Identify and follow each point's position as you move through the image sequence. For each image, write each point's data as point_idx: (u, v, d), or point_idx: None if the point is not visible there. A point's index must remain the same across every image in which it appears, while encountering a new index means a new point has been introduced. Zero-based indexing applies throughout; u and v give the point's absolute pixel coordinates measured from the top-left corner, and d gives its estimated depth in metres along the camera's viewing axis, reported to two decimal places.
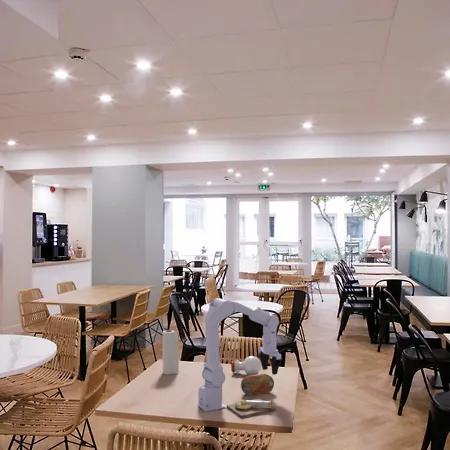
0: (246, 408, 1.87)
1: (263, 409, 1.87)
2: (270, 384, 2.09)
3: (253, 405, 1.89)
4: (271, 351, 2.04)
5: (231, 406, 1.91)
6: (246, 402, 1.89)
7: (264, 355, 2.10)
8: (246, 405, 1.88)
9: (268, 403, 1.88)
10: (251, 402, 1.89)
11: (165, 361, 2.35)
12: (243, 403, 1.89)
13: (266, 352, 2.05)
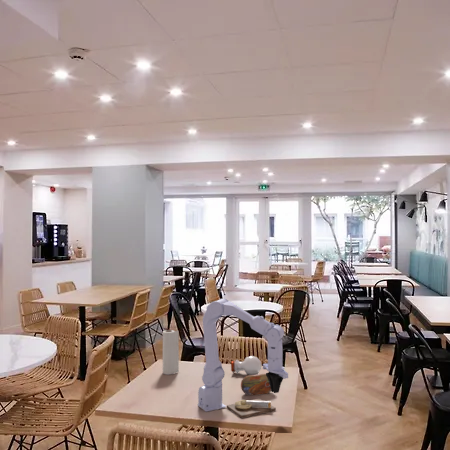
0: (246, 408, 1.87)
1: (263, 409, 1.87)
2: None
3: (253, 405, 1.89)
4: (277, 369, 1.81)
5: (231, 406, 1.91)
6: (246, 402, 1.89)
7: (273, 375, 1.84)
8: (246, 405, 1.88)
9: (268, 403, 1.88)
10: (251, 402, 1.89)
11: (165, 361, 2.35)
12: (243, 403, 1.89)
13: (271, 370, 1.81)
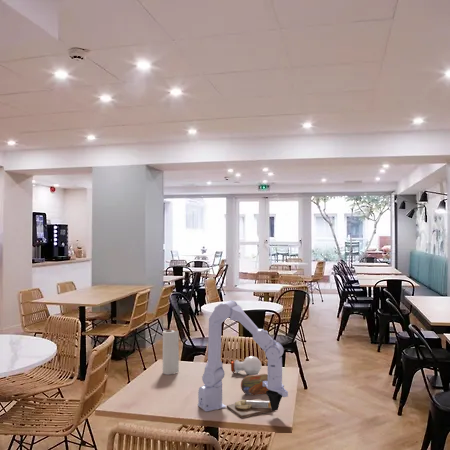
0: (246, 408, 1.87)
1: (263, 409, 1.87)
2: None
3: (253, 405, 1.89)
4: (276, 387, 1.81)
5: (231, 406, 1.91)
6: (246, 402, 1.89)
7: None
8: (246, 405, 1.88)
9: (268, 403, 1.88)
10: (251, 402, 1.89)
11: (165, 361, 2.35)
12: (243, 403, 1.89)
13: (271, 388, 1.81)
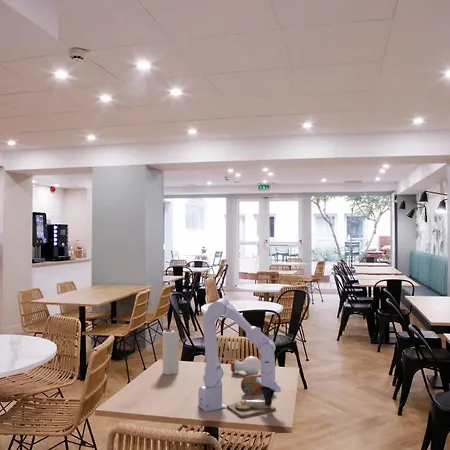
0: (246, 408, 1.87)
1: (263, 409, 1.87)
2: None
3: (253, 405, 1.89)
4: (269, 383, 1.85)
5: (231, 406, 1.91)
6: (246, 402, 1.89)
7: None
8: (246, 405, 1.88)
9: None
10: (251, 402, 1.89)
11: (165, 361, 2.35)
12: (243, 403, 1.89)
13: (264, 384, 1.86)
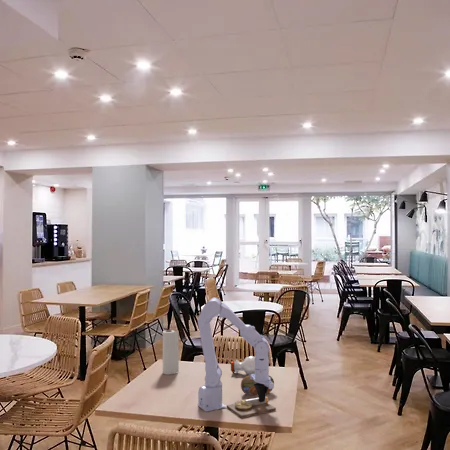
0: (250, 407, 1.88)
1: (263, 409, 1.87)
2: None
3: (253, 403, 1.91)
4: (263, 379, 1.89)
5: (231, 406, 1.91)
6: (247, 401, 1.90)
7: None
8: (248, 404, 1.89)
9: (266, 398, 1.93)
10: (251, 400, 1.91)
11: (165, 361, 2.35)
12: (244, 403, 1.89)
13: (258, 381, 1.90)
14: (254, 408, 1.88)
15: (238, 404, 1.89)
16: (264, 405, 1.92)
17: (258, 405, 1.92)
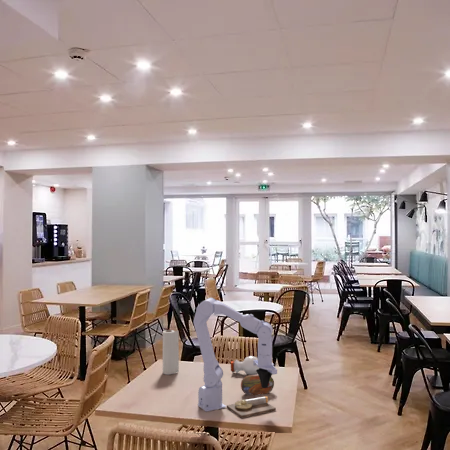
0: (250, 407, 1.88)
1: (263, 409, 1.87)
2: (270, 384, 2.09)
3: (253, 403, 1.91)
4: (266, 365, 1.86)
5: (231, 406, 1.91)
6: (247, 401, 1.90)
7: None
8: (248, 404, 1.89)
9: (266, 398, 1.93)
10: (251, 400, 1.91)
11: (165, 361, 2.35)
12: (244, 403, 1.89)
13: (261, 366, 1.87)
14: (254, 408, 1.88)
15: (238, 404, 1.89)
16: (264, 405, 1.92)
17: (258, 405, 1.92)
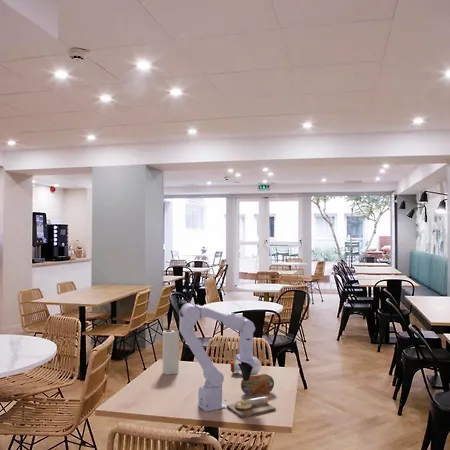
0: (250, 407, 1.88)
1: (263, 409, 1.87)
2: (270, 384, 2.09)
3: (253, 403, 1.91)
4: (247, 359, 1.95)
5: (231, 406, 1.91)
6: (247, 401, 1.90)
7: None
8: (248, 404, 1.89)
9: (266, 398, 1.93)
10: (251, 400, 1.91)
11: (165, 361, 2.35)
12: (244, 403, 1.89)
13: (242, 360, 1.95)
14: (254, 408, 1.88)
15: (238, 404, 1.89)
16: (264, 405, 1.92)
17: (258, 405, 1.92)
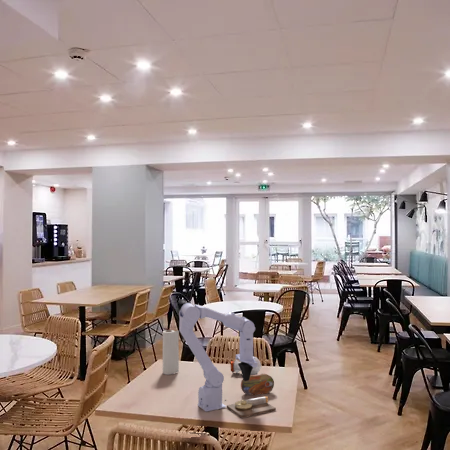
0: (250, 407, 1.88)
1: (263, 409, 1.87)
2: (270, 384, 2.09)
3: (253, 403, 1.91)
4: (247, 359, 1.95)
5: (231, 406, 1.91)
6: (247, 401, 1.90)
7: None
8: (248, 404, 1.89)
9: (266, 398, 1.93)
10: (251, 400, 1.91)
11: (165, 361, 2.35)
12: (244, 403, 1.89)
13: (242, 360, 1.95)
14: (254, 408, 1.88)
15: (238, 404, 1.89)
16: (264, 405, 1.92)
17: (258, 405, 1.92)
